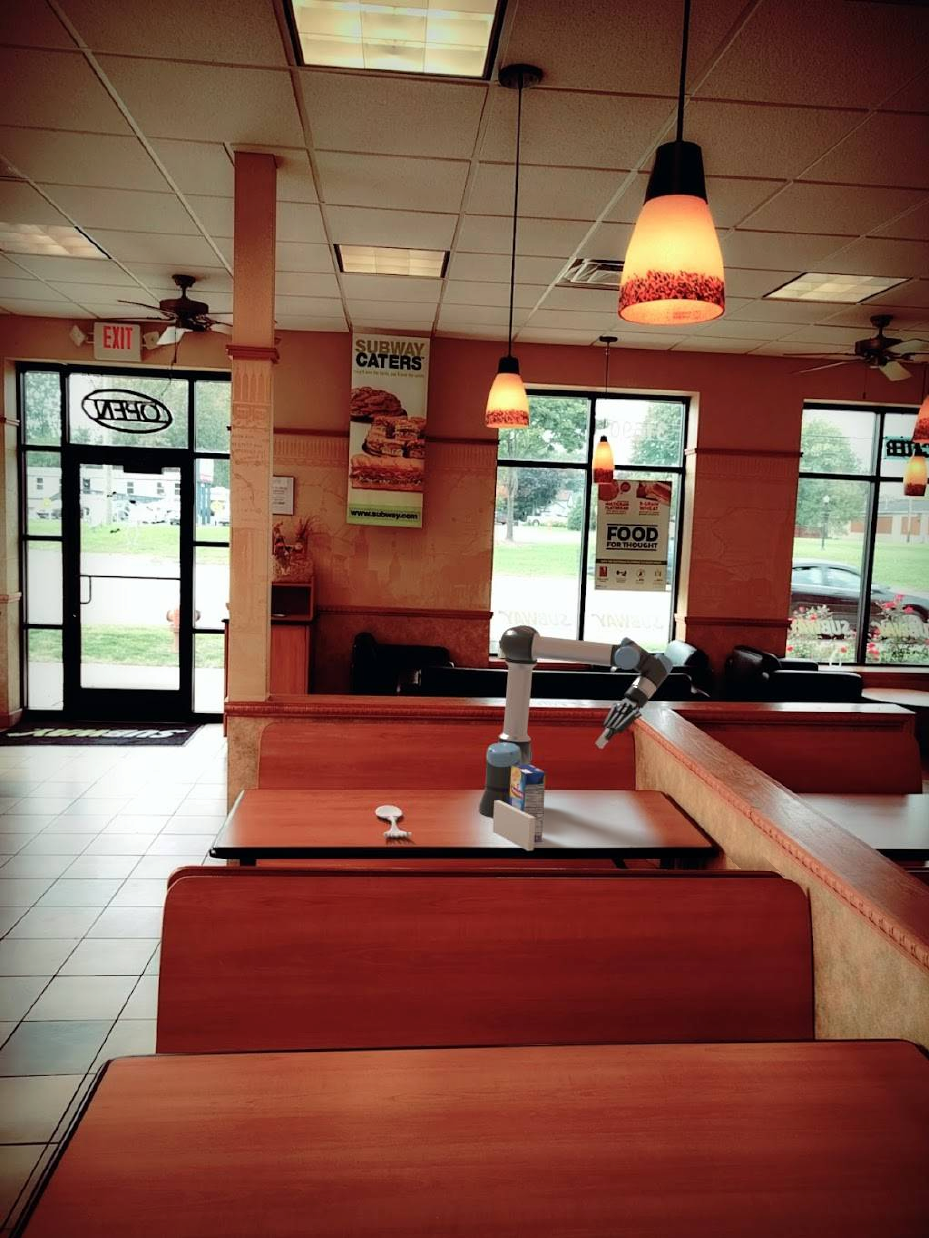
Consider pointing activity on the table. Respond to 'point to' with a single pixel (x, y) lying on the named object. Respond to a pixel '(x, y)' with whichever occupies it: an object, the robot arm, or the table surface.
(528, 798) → the beverage box
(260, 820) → the table surface
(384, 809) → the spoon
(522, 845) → the board
